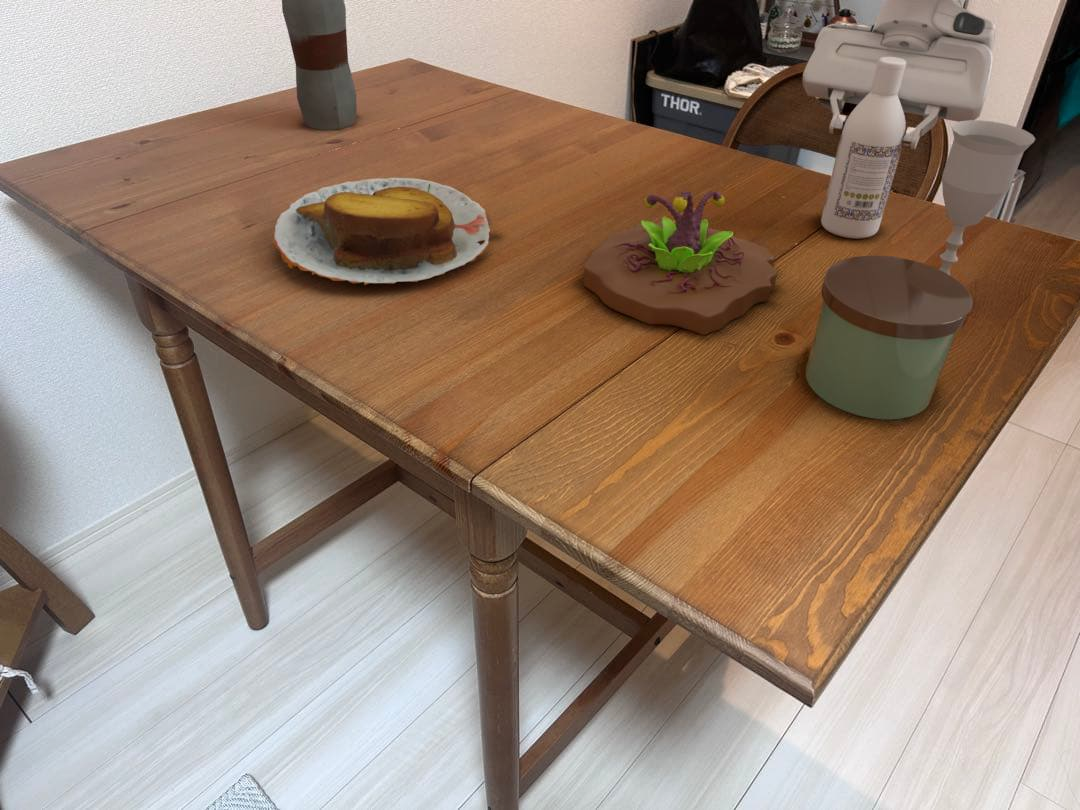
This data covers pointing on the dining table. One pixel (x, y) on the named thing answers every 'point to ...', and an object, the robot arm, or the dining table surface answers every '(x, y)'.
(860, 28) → the robot arm
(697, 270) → the plant
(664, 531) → the dining table surface
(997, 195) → the chalice
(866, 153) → the bath foam
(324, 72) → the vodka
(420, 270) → the food on plate
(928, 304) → the canister
